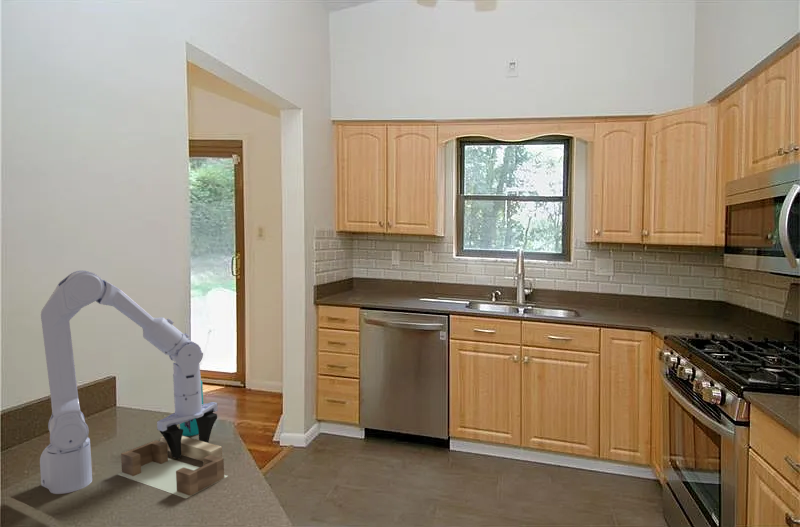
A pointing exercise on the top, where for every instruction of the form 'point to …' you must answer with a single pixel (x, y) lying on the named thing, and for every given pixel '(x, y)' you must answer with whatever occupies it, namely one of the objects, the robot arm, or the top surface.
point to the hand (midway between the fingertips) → (190, 451)
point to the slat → (197, 448)
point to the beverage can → (191, 423)
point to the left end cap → (143, 457)
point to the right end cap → (200, 476)
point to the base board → (162, 475)
